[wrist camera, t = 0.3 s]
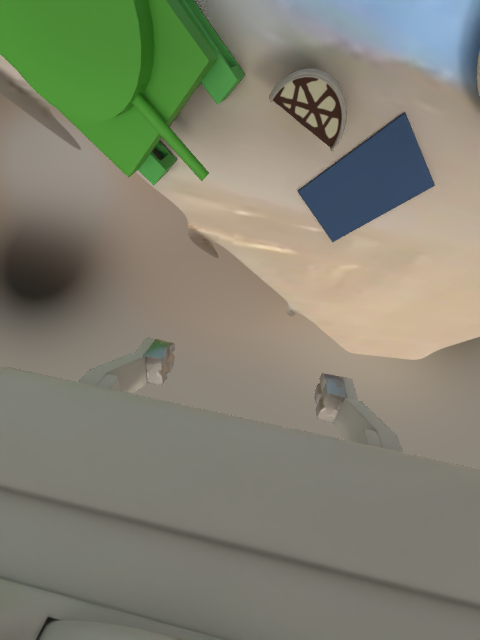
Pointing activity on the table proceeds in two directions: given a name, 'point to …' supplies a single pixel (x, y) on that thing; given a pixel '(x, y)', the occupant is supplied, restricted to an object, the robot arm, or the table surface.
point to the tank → (120, 70)
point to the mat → (369, 180)
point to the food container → (314, 103)
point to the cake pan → (478, 73)
